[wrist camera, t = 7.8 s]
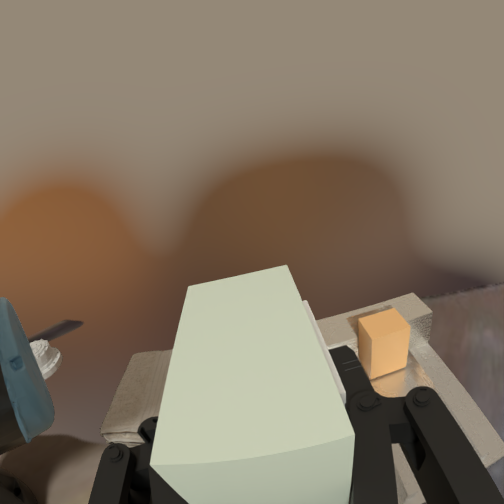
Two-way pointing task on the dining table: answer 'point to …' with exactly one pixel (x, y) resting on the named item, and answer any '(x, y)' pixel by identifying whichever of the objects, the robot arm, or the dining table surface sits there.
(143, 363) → the washcloth
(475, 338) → the dining table surface
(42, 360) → the mechanical component
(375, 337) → the orange rectangular block
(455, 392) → the rail plate
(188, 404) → the block
